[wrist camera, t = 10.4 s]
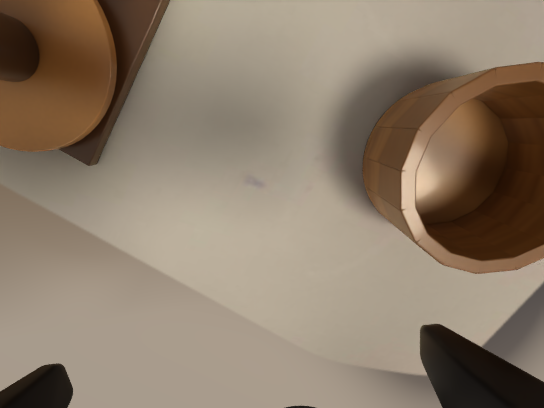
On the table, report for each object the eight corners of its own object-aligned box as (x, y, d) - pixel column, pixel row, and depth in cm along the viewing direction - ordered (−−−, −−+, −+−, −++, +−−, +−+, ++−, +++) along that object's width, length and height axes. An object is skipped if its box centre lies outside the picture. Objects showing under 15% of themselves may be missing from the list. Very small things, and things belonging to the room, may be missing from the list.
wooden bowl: (503, 222, 18) (595, 262, 13) (364, 237, 19) (399, 282, 14) (520, 73, 16) (641, 48, 11) (359, 93, 16) (400, 79, 11)
